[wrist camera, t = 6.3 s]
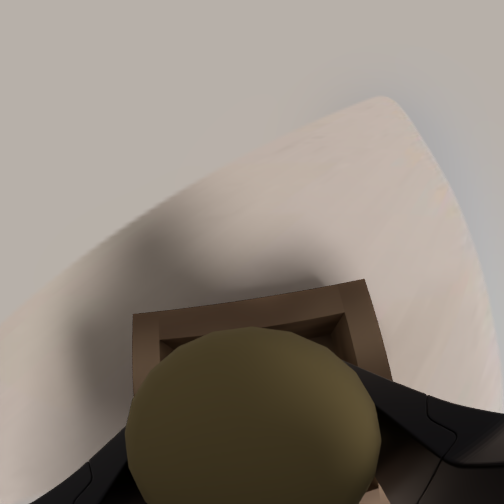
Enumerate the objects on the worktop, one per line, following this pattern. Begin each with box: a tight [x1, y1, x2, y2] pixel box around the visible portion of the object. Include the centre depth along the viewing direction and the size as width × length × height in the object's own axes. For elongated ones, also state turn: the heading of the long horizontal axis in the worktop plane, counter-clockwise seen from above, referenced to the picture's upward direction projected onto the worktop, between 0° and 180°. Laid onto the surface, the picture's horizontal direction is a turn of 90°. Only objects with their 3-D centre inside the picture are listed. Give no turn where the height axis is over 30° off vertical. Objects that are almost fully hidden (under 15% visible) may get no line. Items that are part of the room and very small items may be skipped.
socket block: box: [132, 279, 393, 504], centre depth 12 cm, size 12×12×4 cm
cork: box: [125, 326, 381, 504], centre depth 8 cm, size 6×6×11 cm
